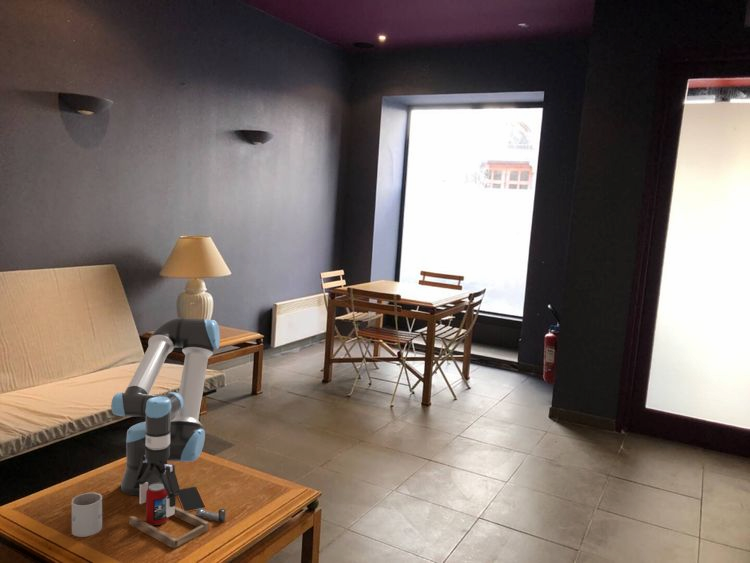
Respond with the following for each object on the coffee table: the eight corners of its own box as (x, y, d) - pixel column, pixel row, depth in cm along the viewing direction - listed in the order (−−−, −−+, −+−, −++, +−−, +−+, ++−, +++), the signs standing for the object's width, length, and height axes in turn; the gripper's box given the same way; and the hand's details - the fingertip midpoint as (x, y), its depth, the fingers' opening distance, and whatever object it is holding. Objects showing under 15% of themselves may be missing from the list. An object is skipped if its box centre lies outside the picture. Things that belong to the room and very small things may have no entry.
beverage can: (160, 528, 187) (161, 492, 186) (141, 524, 188) (141, 489, 187) (172, 517, 194) (172, 483, 192) (153, 514, 195) (153, 480, 194)
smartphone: (183, 513, 197) (184, 511, 197) (175, 492, 212) (175, 489, 211) (206, 509, 201) (206, 507, 200) (196, 488, 215) (196, 486, 215)
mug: (97, 536, 181) (97, 505, 180) (67, 537, 179) (67, 506, 178) (108, 515, 193) (108, 486, 192) (80, 516, 191) (80, 487, 190)
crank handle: (194, 516, 195) (194, 506, 195) (199, 512, 198) (199, 502, 197) (222, 523, 192) (222, 512, 191) (227, 519, 194) (227, 509, 194)
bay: (129, 524, 188) (129, 517, 188) (164, 508, 199) (164, 501, 199) (173, 548, 176) (174, 540, 176) (208, 529, 187) (208, 522, 187)
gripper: (123, 439, 192) (123, 501, 194) (173, 459, 178) (172, 525, 180) (143, 433, 198) (143, 493, 200) (193, 452, 184) (191, 516, 186)
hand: (156, 508), depth 190 cm, fingers open, 13 cm apart
